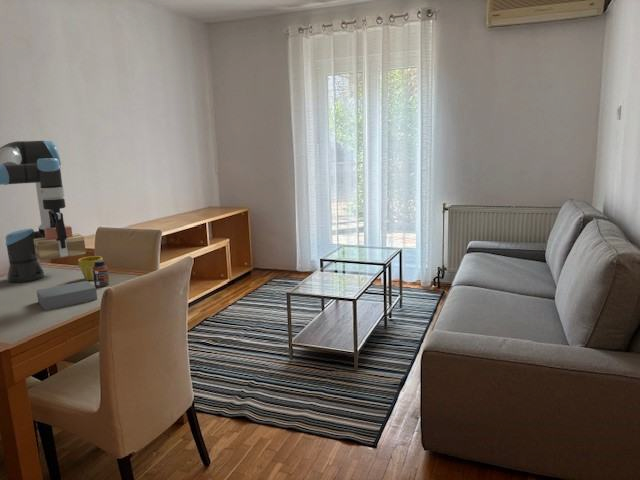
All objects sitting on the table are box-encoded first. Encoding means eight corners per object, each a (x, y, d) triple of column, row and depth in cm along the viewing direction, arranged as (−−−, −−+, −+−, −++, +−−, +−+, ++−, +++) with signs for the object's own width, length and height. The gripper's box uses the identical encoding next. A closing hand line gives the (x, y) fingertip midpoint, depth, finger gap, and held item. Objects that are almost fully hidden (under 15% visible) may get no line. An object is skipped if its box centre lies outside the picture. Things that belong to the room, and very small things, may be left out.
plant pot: (95, 282, 219) (92, 261, 217) (75, 281, 221) (72, 260, 219) (109, 275, 229) (106, 256, 227) (90, 275, 231) (87, 255, 229)
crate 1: (45, 238, 186) (44, 228, 185) (57, 237, 188) (55, 227, 188) (47, 240, 183) (46, 229, 182) (59, 238, 185) (57, 228, 185)
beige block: (36, 256, 187) (33, 239, 186) (80, 249, 197) (77, 233, 196) (40, 260, 180) (37, 242, 178) (86, 253, 190) (83, 236, 188)
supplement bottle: (99, 288, 208) (96, 263, 206) (91, 286, 211) (88, 261, 209) (112, 284, 213) (109, 260, 211) (104, 283, 216) (101, 259, 214)
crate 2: (59, 236, 189) (57, 227, 188) (70, 235, 191) (69, 225, 191) (61, 238, 186) (60, 228, 185) (72, 236, 188) (71, 226, 188)
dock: (38, 301, 192) (36, 290, 191) (88, 291, 204) (87, 280, 203) (44, 310, 181) (42, 298, 180) (97, 299, 193) (95, 287, 192)
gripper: (37, 197, 190) (45, 251, 195) (48, 201, 173) (56, 260, 178) (58, 195, 195) (65, 248, 199) (70, 199, 178) (78, 257, 182)
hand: (61, 254), depth 188 cm, fingers closed on beige block, 10 cm apart
